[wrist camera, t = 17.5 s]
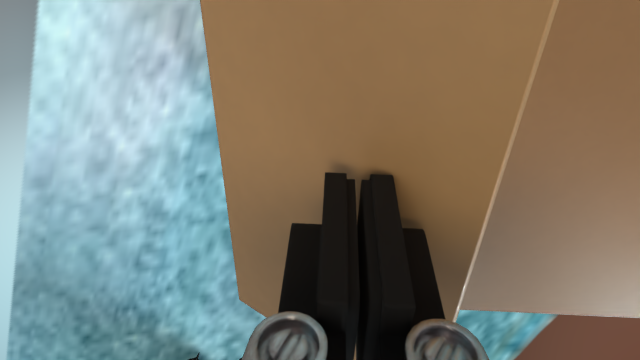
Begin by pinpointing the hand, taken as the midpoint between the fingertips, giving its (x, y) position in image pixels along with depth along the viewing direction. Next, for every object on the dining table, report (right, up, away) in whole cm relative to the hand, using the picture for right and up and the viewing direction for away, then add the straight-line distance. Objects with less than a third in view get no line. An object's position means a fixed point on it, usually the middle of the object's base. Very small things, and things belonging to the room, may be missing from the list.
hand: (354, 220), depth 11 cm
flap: (0, +1, +1) cm, 1 cm away
